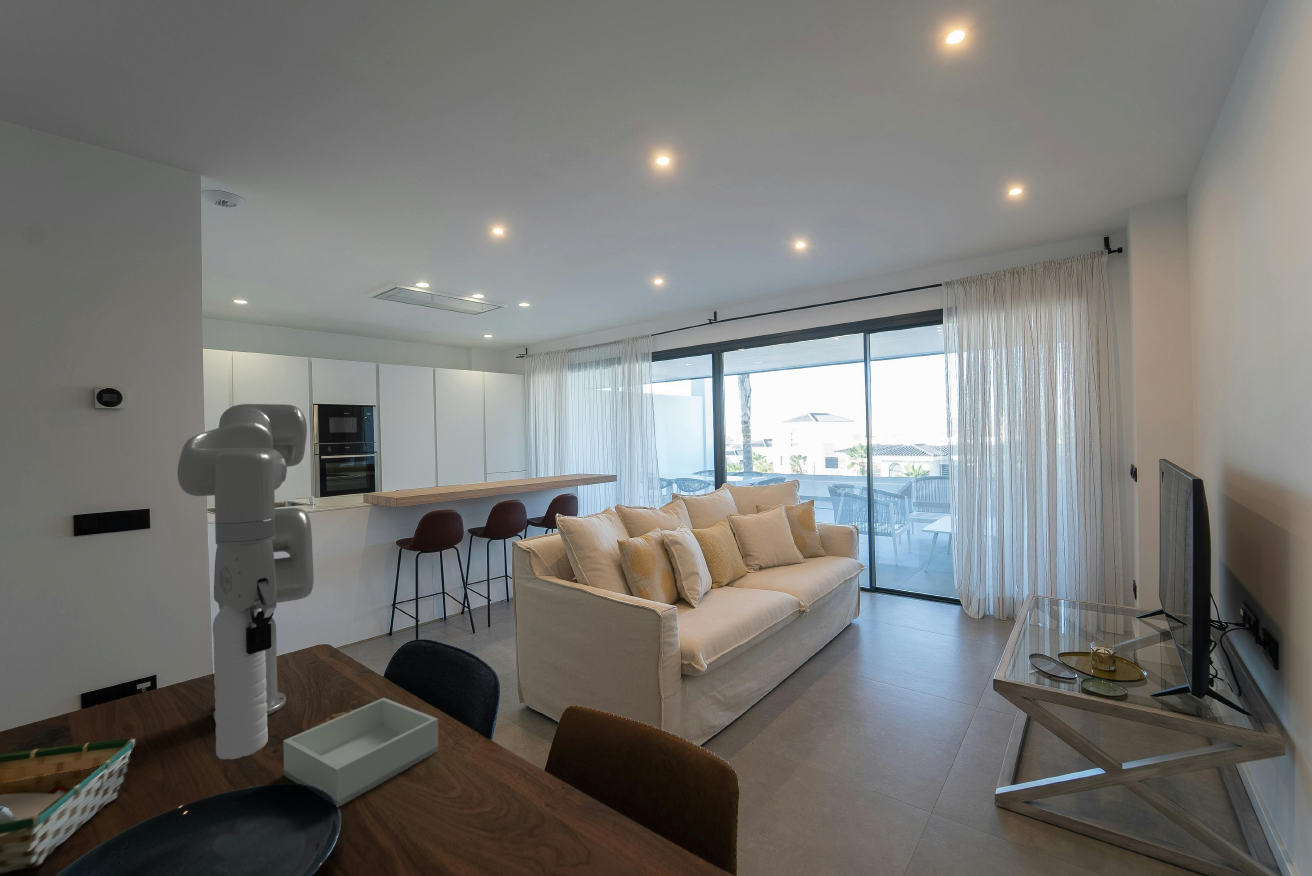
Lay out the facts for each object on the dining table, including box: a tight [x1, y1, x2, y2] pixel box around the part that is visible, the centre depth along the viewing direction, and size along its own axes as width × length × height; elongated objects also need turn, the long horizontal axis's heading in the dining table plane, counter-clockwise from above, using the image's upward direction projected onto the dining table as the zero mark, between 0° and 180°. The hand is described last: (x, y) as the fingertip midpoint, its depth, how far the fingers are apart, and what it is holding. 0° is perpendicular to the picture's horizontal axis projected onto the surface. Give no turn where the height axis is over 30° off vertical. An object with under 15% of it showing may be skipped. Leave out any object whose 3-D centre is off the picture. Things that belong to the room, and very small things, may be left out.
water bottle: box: [212, 602, 269, 760], centre depth 89 cm, size 9×6×25 cm
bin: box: [282, 697, 439, 807], centre depth 102 cm, size 17×19×6 cm
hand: (248, 645), depth 89 cm, fingers closed on water bottle, 6 cm apart
